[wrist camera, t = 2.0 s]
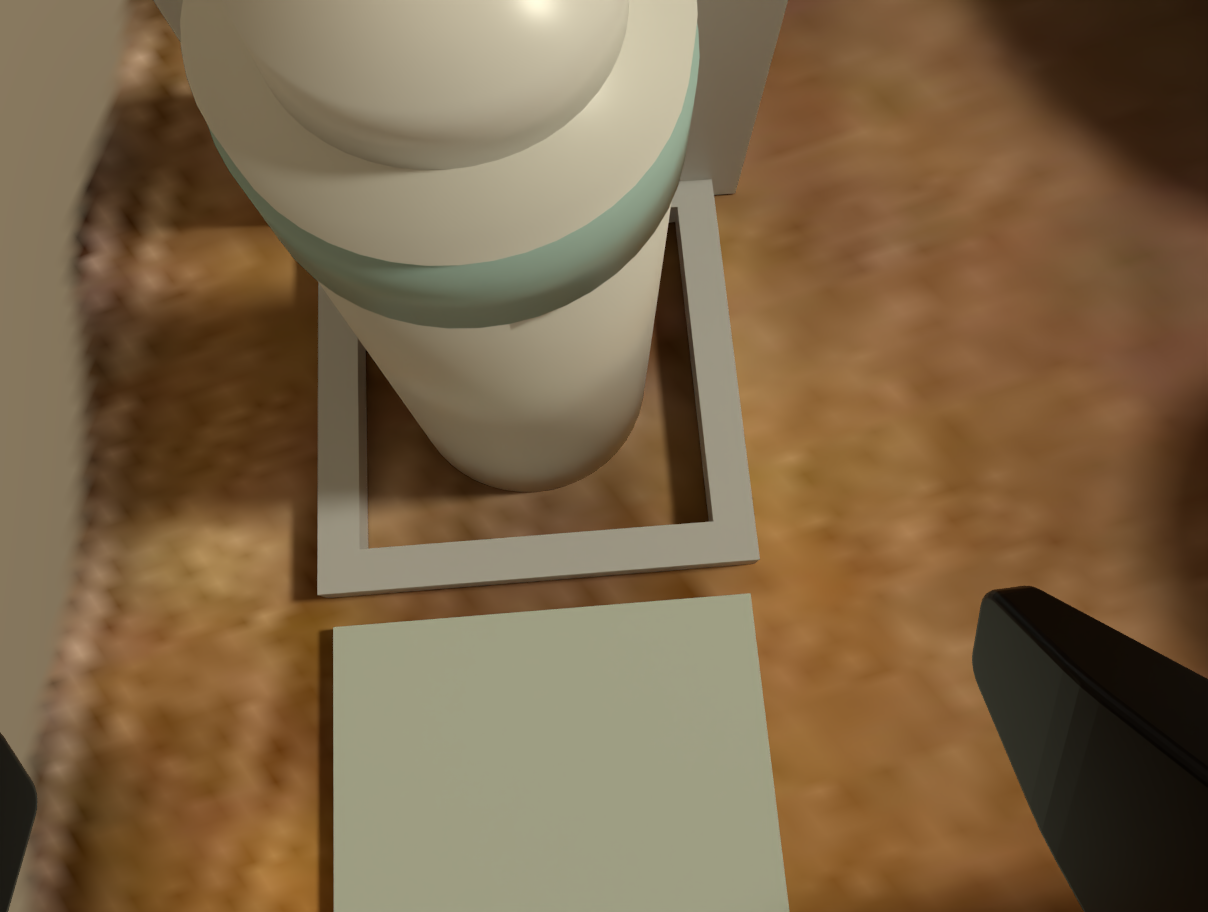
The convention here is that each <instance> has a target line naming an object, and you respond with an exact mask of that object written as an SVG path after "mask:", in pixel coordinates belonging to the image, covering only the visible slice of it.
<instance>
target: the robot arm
mask: <svg viewBox="0 0 1208 912" xmlns="http://www.w3.org/2000/svg"><path fill="white" fill-rule="evenodd" d="M972 665H973V671H974V675H975V679H976V681H977V684H978V686H979V689H980V691H981V694H982V696H983V698H984V701H985V703H986V705H987V708H988V710H989V713H990V715H991V717H992V720H993V722H994V724H995V727H996V729H997V731H998V734H999V736H1000V739H1001V741H1002V743H1003V746H1004V748H1005V750H1006V753H1007V755H1008V757H1009V760H1010V762H1011V765H1012V767H1013V769H1014V772H1015V774H1016V776H1017V779H1018V781H1019V783H1020V786H1021V788H1022V791H1023V793H1024V795H1025V798H1026V800H1027V802H1028V805H1029V807H1030V809H1031V812H1032V814H1033V816H1034V818H1035V820H1036V823H1037V825H1038V827H1039V829H1040V831H1041V833H1042V835H1043V837H1044V839H1045V841H1046V843H1047V845H1048V847H1049V849H1050V851H1051V853H1052V854H1053V856H1054V858H1055V860H1056V862H1057V864H1058V866H1059V867H1060V869H1061V871H1062V873H1063V875H1064V876H1065V878H1066V880H1067V882H1068V884H1069V885H1070V887H1071V889H1072V891H1073V893H1074V895H1075V896H1076V898H1077V900H1078V902H1079V904H1080V905H1081V907H1082V909H1083V911H1084V912H1208V679H1207V678H1205V677H1203V676H1201V675H1199V674H1197V673H1195V672H1194V671H1192V670H1190V669H1188V668H1186V667H1184V666H1182V665H1180V664H1179V663H1177V662H1175V661H1173V660H1171V659H1169V658H1167V657H1165V656H1164V655H1162V654H1160V653H1158V652H1156V651H1154V650H1152V649H1150V648H1149V647H1147V646H1145V645H1143V644H1141V643H1139V642H1137V641H1135V640H1134V639H1132V638H1130V637H1128V636H1126V635H1124V634H1122V633H1120V632H1119V631H1117V630H1115V629H1113V628H1111V627H1109V626H1107V625H1105V624H1104V623H1102V622H1100V621H1098V620H1096V619H1094V618H1092V617H1090V616H1089V615H1087V614H1085V613H1083V612H1081V611H1079V610H1077V609H1076V608H1074V607H1072V606H1070V605H1068V604H1066V603H1064V602H1062V601H1061V600H1059V599H1057V598H1055V597H1053V596H1051V595H1049V594H1047V593H1046V592H1044V591H1042V590H1040V589H1037V588H1035V587H1032V586H1018V587H1011V588H1004V589H996V590H992V591H990V592H988V593H987V594H986V595H985V596H984V598H983V599H982V603H981V607H980V613H979V619H978V624H977V630H976V636H975V642H974V648H973V655H972ZM36 811H37V793H36V789H35V785H34V783H33V781H32V780H31V778H30V777H29V775H28V774H27V772H26V771H25V769H24V767H23V766H22V764H21V763H20V761H19V760H18V758H17V757H16V755H15V753H14V752H13V750H12V749H11V747H10V746H9V744H8V743H7V741H6V739H5V738H4V736H3V735H2V734H1V733H0V912H8V910H9V906H10V903H11V899H12V896H13V892H14V889H15V885H16V882H17V878H18V875H19V872H20V868H21V865H22V861H23V858H24V854H25V851H26V847H27V844H28V840H29V837H30V833H31V830H32V826H33V823H34V819H35V816H36Z"/></svg>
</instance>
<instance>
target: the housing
mask: <svg viewBox="0 0 1208 912" xmlns="http://www.w3.org/2000/svg"><path fill="white" fill-rule="evenodd" d="M153 1H154V3H155V4H156V6H157V7H158V9H159V10H160V12H161V13H162V15H163V16H164V18H165V19H166V21H167V22H168V24H169V25H170V27H171V28H172V30H173V31H174V33H175V34H176V36H177V38H178V39H179V41H180V42H181V28H180V18H181V10H182V3H183V0H153ZM787 2H788V0H697V11H698V16H697V25H698V33H699V53H700V59H699V69H698V78H697V87H696V93H695V99H694V106H693V112H692V118H691V124H690V131H689V137H688V143H687V150H686V156H685V162H684V165H683V169H682V173H681V177H680V181H679V185H678V187H677V190H676V192H675V195H674V197H673V199H672V202H671V209H670V216H669V223H670V222H675V226H676V235H677V244H678V252H679V261H680V270H681V279H682V288H683V297H684V306H685V315H686V324H687V332H688V341H689V350H690V359H691V368H692V377H693V386H694V395H695V404H696V412H697V421H698V430H699V439H700V448H701V457H702V466H703V475H704V484H705V492H706V501H707V510H708V519H709V522H699V523H687V524H674V525H662V526H649V527H636V528H624V529H611V530H598V531H586V532H573V533H561V534H548V535H535V536H523V537H510V538H497V539H485V540H472V541H460V542H447V543H434V544H422V545H409V546H396V547H384V548H371V549H368V488H367V405H366V349H365V347H364V346H363V345H362V343H361V342H360V340H359V339H358V338H357V336H356V335H355V333H354V332H353V331H352V329H351V328H350V326H349V325H348V323H347V322H346V321H345V319H344V318H343V316H342V315H341V314H340V312H339V311H338V309H337V308H336V307H335V305H334V304H333V302H332V301H331V299H330V298H329V297H328V295H327V294H326V292H325V291H324V290H323V288H322V287H321V285H320V284H319V283H318V564H317V595H319V596H323V597H326V598H335V597H347V596H360V595H372V594H385V593H397V592H409V591H422V590H434V589H447V588H459V587H472V586H484V585H496V584H509V583H521V582H534V581H546V580H559V579H571V578H583V577H596V576H608V575H621V574H633V573H646V572H658V571H670V570H683V569H695V568H708V567H720V566H733V565H745V564H754V563H756V562H757V561H758V560H760V557H759V549H758V541H757V533H756V525H755V517H754V510H753V502H752V494H751V486H750V478H749V470H748V462H747V454H746V446H745V438H744V430H743V422H742V414H741V406H740V399H739V391H738V383H737V375H736V367H735V359H734V351H733V343H732V335H731V327H730V319H729V311H728V303H727V295H726V288H725V280H724V272H723V264H722V256H721V248H720V240H719V232H718V224H717V216H716V208H715V200H714V195H720V194H734V193H735V192H736V189H737V185H738V181H739V178H740V174H741V170H742V167H743V163H744V159H745V156H746V152H747V148H748V145H749V141H750V137H751V134H752V130H753V126H754V123H755V119H756V115H757V112H758V108H759V104H760V101H761V97H762V93H763V90H764V86H765V82H766V79H767V75H768V71H769V68H770V64H771V61H772V57H773V53H774V50H775V46H776V42H777V39H778V35H779V31H780V28H781V24H782V20H783V17H784V13H785V9H786V6H787Z"/></svg>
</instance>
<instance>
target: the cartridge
mask: <svg viewBox="0 0 1208 912" xmlns="http://www.w3.org/2000/svg"><path fill="white" fill-rule="evenodd" d="M697 16H698V11H697V0H183V3H182V10H181V18H180V28H181V51H182V56H183V61H184V67H185V72H186V77H187V80H188V82H189V85H190V88H191V91H192V94H193V96H194V99H195V102H196V104H197V106H198V108H199V110H200V112H201V114H202V115H203V117H204V119H205V121H206V123H207V125H208V128H209V130H210V133H211V136H212V139H213V141H214V144H215V146H216V148H217V150H218V152H219V154H220V155H221V157H222V159H223V161H224V163H225V164H226V166H227V168H228V170H229V171H230V173H231V174H232V176H233V177H234V178H235V180H236V181H237V182H238V184H239V185H240V187H241V188H242V189H243V191H244V192H245V193H246V195H247V196H248V198H249V199H250V200H251V202H252V203H253V204H254V206H255V207H256V209H257V210H258V211H259V213H260V214H261V215H262V217H263V218H264V220H265V221H266V222H267V224H268V225H269V226H270V228H271V229H272V231H273V232H274V233H275V235H276V236H277V237H278V239H279V240H280V241H281V243H282V244H283V245H284V246H285V248H286V249H287V250H288V252H289V253H290V254H291V256H292V257H293V258H294V259H295V260H296V261H297V262H298V263H299V264H300V265H301V266H302V267H303V268H304V269H305V270H306V271H307V272H308V273H309V274H310V275H311V276H312V277H313V278H315V279H316V280H317V281H318V283H319V284H320V285H321V287H322V288H323V290H324V291H325V292H326V294H327V295H328V297H329V298H330V299H331V301H332V302H333V304H334V305H335V307H336V308H337V309H338V311H339V312H340V314H341V315H342V316H343V318H344V319H345V321H346V322H347V323H348V325H349V326H350V328H351V329H352V331H353V332H354V333H355V335H356V336H357V338H358V339H359V340H360V342H361V343H362V345H363V346H364V347H365V349H366V350H367V352H368V353H369V355H370V356H371V357H372V359H373V360H374V362H375V363H376V364H377V366H378V367H379V369H380V370H381V372H382V373H383V374H384V376H385V377H386V379H387V380H388V381H389V383H390V384H391V386H392V387H393V388H394V390H395V391H396V393H397V394H398V396H399V397H400V398H401V400H402V401H403V403H404V404H405V405H406V407H407V408H408V410H409V411H410V412H411V414H412V415H413V417H414V418H415V420H416V421H417V422H418V424H419V425H420V427H421V428H422V429H423V431H424V432H425V434H426V435H427V436H428V438H429V439H430V441H431V442H432V443H433V445H434V446H435V447H436V449H437V450H438V451H439V453H440V454H441V455H442V456H443V457H444V458H445V459H446V460H447V461H448V462H449V463H450V464H451V465H452V466H454V467H455V468H456V469H458V470H459V471H461V472H462V473H463V474H465V475H467V476H469V477H470V478H472V479H474V480H476V481H478V482H480V483H483V484H486V485H488V486H491V487H495V488H499V489H503V490H508V491H516V492H539V491H546V490H552V489H556V488H560V487H563V486H567V485H569V484H572V483H574V482H577V481H579V480H581V479H583V478H585V477H586V476H588V475H590V474H592V473H593V472H595V471H596V470H598V469H599V468H600V467H602V466H603V465H604V464H605V463H607V462H608V461H609V460H610V459H611V458H612V457H613V456H614V455H615V454H616V453H617V452H618V450H619V449H620V448H621V446H622V445H623V444H624V443H625V441H626V440H627V438H628V436H629V435H630V433H631V431H632V429H633V428H634V425H635V423H636V420H637V418H638V416H639V413H640V409H641V405H642V401H643V395H644V388H645V381H646V374H647V367H648V360H649V353H650V347H651V340H652V333H653V326H654V319H655V312H656V305H657V298H658V292H659V285H660V278H661V271H662V264H663V257H664V250H665V243H666V237H667V230H668V223H669V216H670V209H671V202H672V199H673V197H674V195H675V192H676V190H677V187H678V185H679V181H680V177H681V173H682V169H683V165H684V162H685V156H686V150H687V143H688V137H689V131H690V124H691V118H692V112H693V106H694V99H695V93H696V87H697V78H698V69H699V59H700V53H699V33H698V25H697Z"/></svg>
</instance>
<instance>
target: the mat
mask: <svg viewBox="0 0 1208 912" xmlns="http://www.w3.org/2000/svg"><path fill="white" fill-rule="evenodd" d="M333 788H334V912H789V905H788V897H787V889H786V880H785V872H784V864H783V856H782V848H781V839H780V831H779V823H778V815H777V807H776V799H775V790H774V782H773V774H772V766H771V758H770V749H769V741H768V733H767V725H766V717H765V708H764V700H763V692H762V684H761V676H760V668H759V659H758V651H757V643H756V635H755V627H754V618H753V610H752V602H751V594H738V595H725V596H713V597H701V598H688V599H676V600H664V601H651V602H639V603H627V604H614V605H602V606H590V607H577V608H565V609H553V610H540V611H528V612H516V613H504V614H491V615H479V616H467V617H454V618H442V619H430V620H417V621H405V622H393V623H380V624H368V625H356V626H343V627H333Z"/></svg>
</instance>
